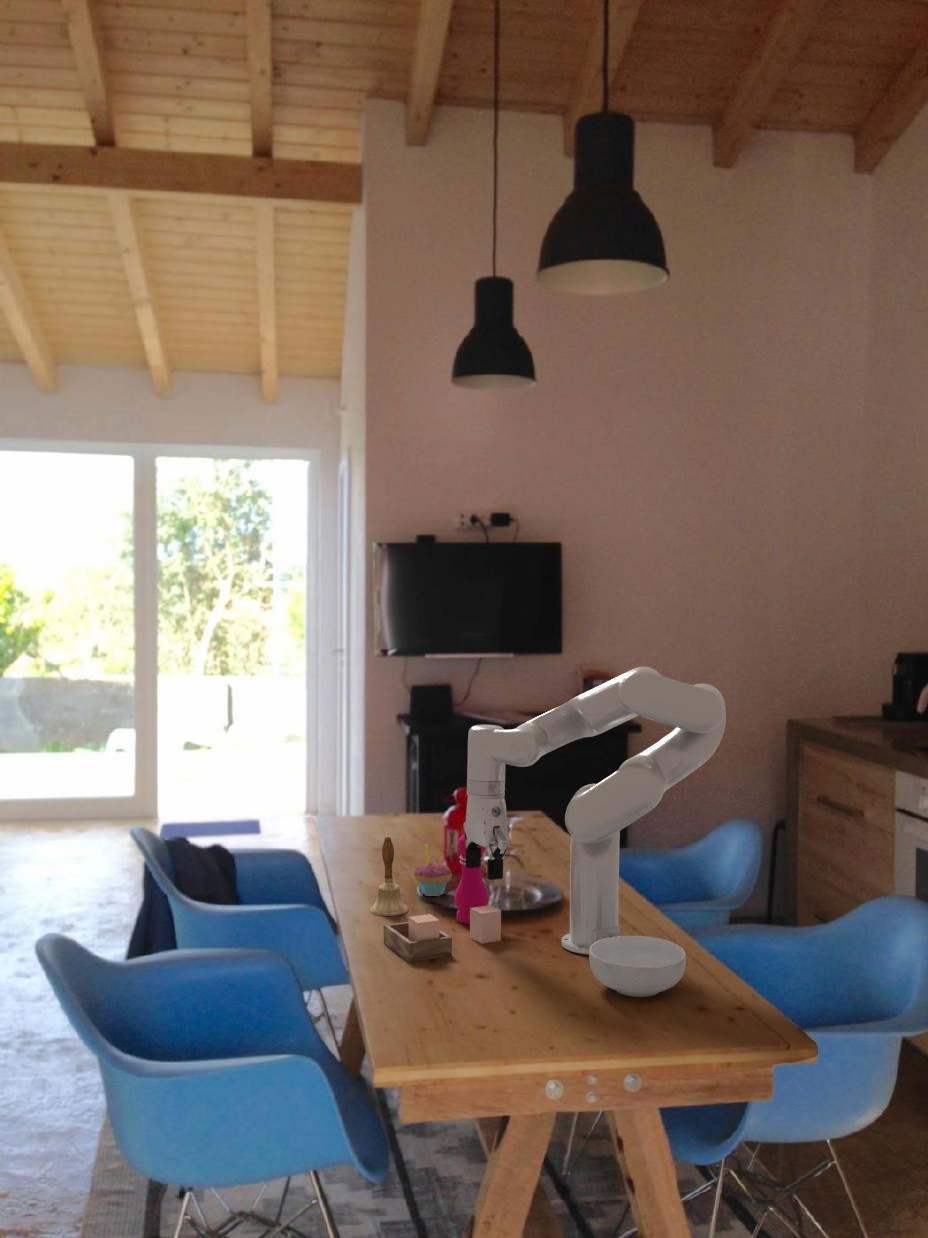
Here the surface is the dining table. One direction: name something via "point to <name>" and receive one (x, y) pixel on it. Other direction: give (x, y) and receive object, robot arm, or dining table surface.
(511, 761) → the robot arm
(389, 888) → the hand bell
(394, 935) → the walnut crate
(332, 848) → the dining table surface
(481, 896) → the pepper mill
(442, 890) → the cupcake
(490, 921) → the pale pink block
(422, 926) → the pale pink block
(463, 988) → the dining table surface
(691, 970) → the dining table surface
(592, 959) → the cereal bowl
